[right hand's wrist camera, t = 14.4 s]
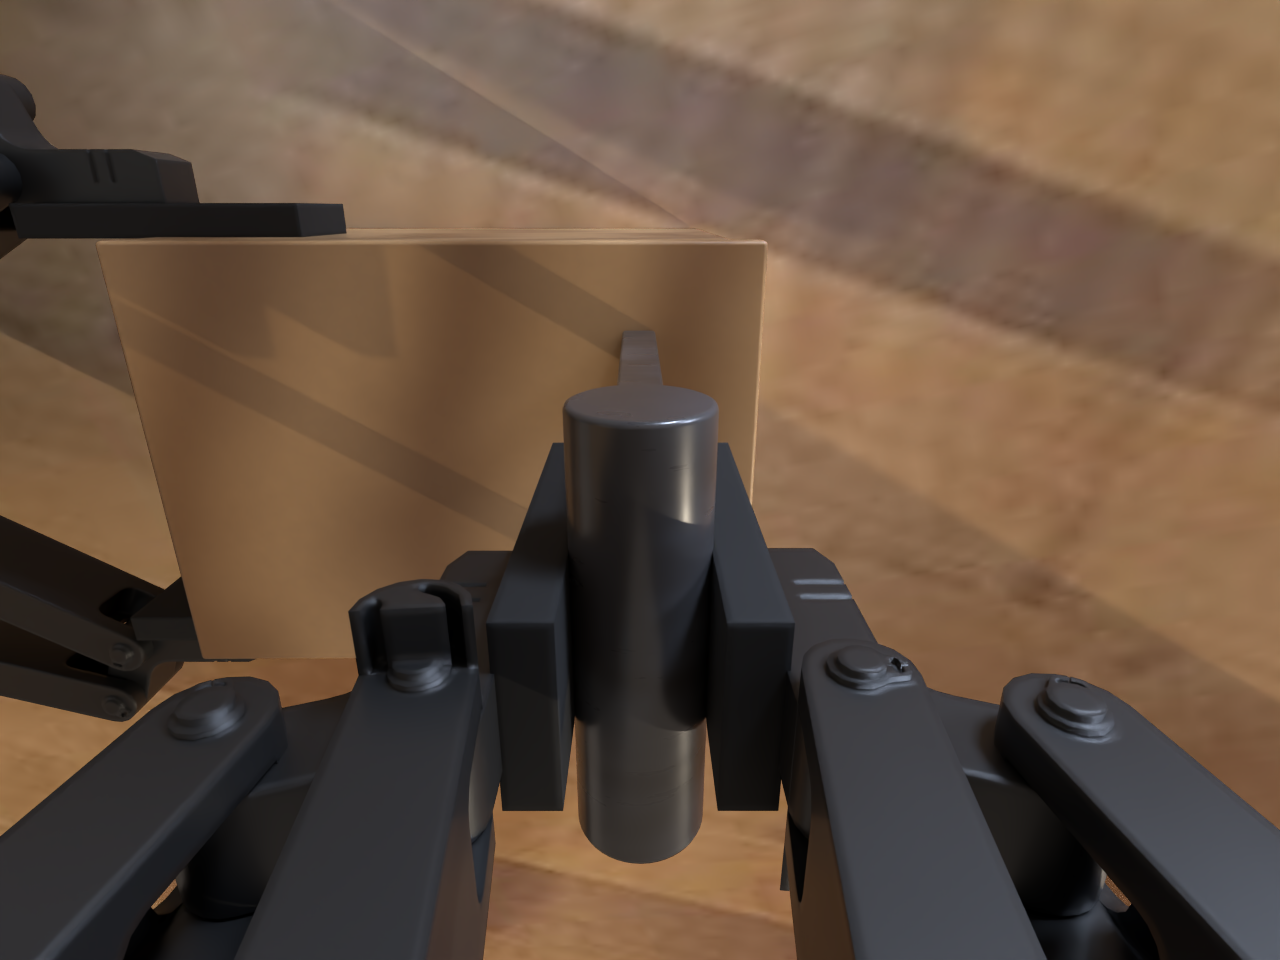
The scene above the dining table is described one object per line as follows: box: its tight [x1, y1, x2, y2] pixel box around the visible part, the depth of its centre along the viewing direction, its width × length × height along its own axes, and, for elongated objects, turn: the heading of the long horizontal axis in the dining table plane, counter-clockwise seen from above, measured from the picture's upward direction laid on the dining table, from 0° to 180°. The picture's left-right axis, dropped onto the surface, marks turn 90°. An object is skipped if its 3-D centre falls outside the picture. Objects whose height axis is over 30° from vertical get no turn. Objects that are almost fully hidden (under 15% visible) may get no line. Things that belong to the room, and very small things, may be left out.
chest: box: [136, 228, 726, 239], centre depth 21 cm, size 13×10×9 cm
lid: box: [96, 239, 768, 864], centre depth 13 cm, size 14×10×8 cm
